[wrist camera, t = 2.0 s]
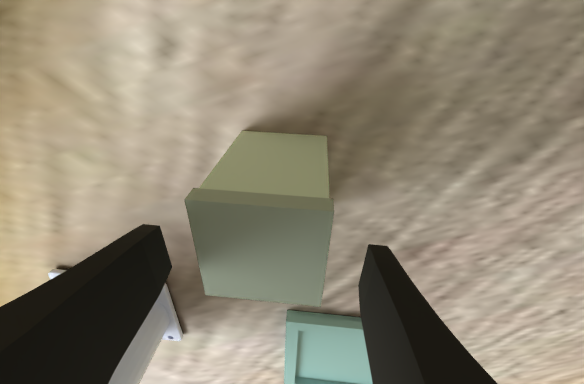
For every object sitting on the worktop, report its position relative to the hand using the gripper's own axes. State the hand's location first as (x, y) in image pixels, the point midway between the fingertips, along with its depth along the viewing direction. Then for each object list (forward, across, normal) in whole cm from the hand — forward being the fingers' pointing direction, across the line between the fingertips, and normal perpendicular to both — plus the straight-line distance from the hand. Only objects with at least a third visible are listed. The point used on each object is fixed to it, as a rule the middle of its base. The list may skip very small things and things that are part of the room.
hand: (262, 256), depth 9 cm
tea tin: (+7, 0, 0) cm, 7 cm away
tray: (+6, -6, +18) cm, 20 cm away
